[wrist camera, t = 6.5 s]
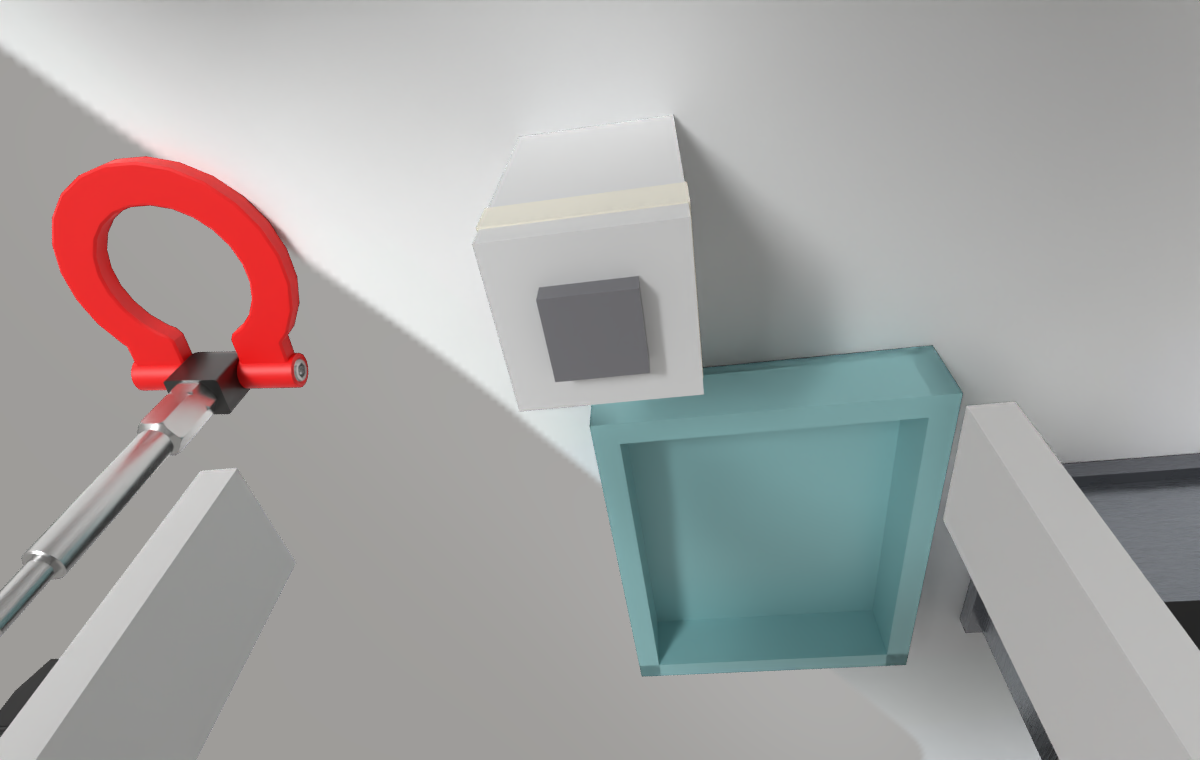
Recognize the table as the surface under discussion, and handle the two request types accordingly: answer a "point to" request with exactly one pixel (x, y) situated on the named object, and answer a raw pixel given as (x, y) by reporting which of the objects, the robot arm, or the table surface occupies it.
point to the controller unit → (1145, 530)
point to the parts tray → (779, 510)
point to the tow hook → (160, 341)
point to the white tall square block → (594, 267)
